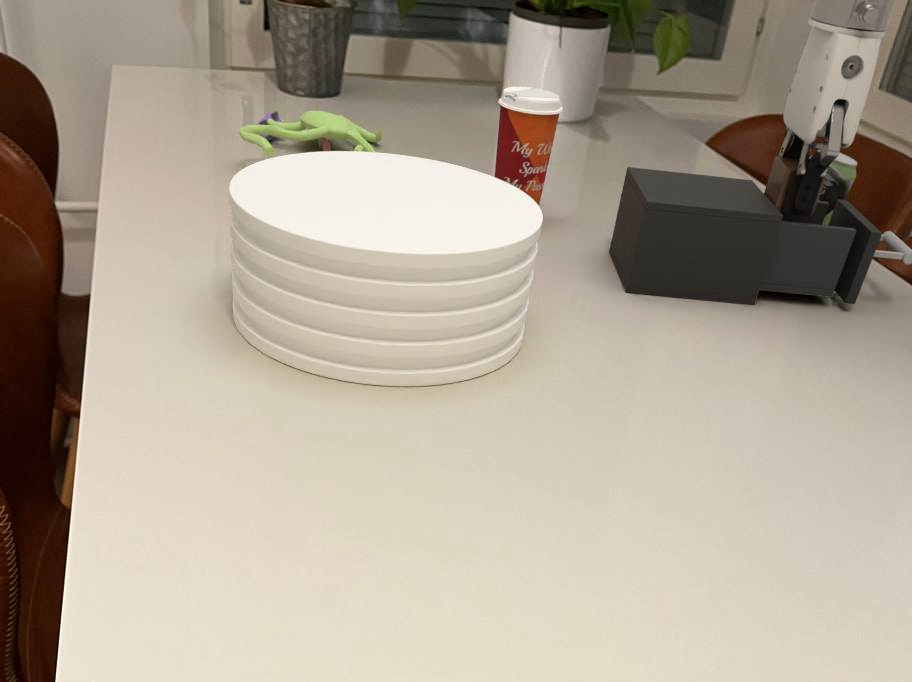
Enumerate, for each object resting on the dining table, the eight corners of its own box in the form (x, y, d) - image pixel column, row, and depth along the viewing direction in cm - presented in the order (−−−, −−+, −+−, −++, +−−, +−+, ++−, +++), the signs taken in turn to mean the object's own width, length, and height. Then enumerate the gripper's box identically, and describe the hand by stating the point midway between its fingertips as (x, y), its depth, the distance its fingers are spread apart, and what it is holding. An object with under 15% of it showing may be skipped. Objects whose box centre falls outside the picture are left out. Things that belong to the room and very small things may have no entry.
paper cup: (507, 230, 120) (526, 102, 111) (471, 209, 125) (486, 86, 115) (557, 224, 124) (579, 100, 115) (520, 204, 128) (538, 84, 119)
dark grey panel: (869, 272, 119) (895, 205, 114) (905, 309, 110) (935, 238, 105) (713, 256, 117) (733, 188, 112) (737, 293, 109) (759, 220, 104)
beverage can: (762, 241, 127) (794, 140, 119) (818, 248, 127) (853, 148, 119) (773, 258, 122) (807, 154, 114) (831, 265, 122) (869, 162, 115)
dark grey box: (727, 264, 119) (752, 180, 112) (754, 305, 109) (783, 215, 103) (608, 252, 118) (627, 166, 111) (625, 292, 108) (647, 201, 102)
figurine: (236, 181, 124) (234, 133, 120) (255, 126, 144) (254, 83, 140) (382, 195, 125) (385, 147, 122) (381, 139, 146) (383, 97, 142)
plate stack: (206, 271, 100) (200, 150, 93) (458, 261, 110) (471, 151, 102) (274, 398, 81) (273, 258, 74) (572, 374, 91) (598, 248, 83)
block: (800, 203, 110) (814, 160, 107) (813, 216, 107) (828, 172, 104) (761, 199, 110) (775, 156, 107) (773, 212, 107) (787, 168, 104)
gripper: (921, 33, 90) (846, 235, 102) (858, 3, 103) (798, 187, 115) (842, 23, 90) (776, 228, 102) (789, -5, 103) (736, 180, 114)
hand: (788, 204), depth 108 cm, fingers closed on block, 4 cm apart
